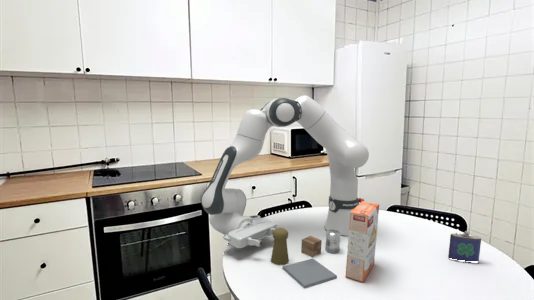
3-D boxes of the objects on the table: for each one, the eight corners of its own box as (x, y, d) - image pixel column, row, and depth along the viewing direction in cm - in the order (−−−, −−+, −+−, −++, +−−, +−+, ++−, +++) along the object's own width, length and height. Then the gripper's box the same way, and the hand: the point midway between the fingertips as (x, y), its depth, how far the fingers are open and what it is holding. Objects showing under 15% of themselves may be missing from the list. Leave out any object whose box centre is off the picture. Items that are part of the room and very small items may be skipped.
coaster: (312, 260, 103) (312, 258, 103) (336, 278, 92) (336, 275, 92) (282, 268, 97) (282, 266, 97) (304, 288, 87) (304, 285, 87)
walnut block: (310, 248, 112) (310, 235, 111) (321, 253, 109) (321, 239, 108) (301, 252, 109) (301, 239, 108) (312, 257, 105) (312, 243, 104)
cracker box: (364, 283, 90) (369, 215, 87) (344, 277, 93) (348, 211, 90) (375, 264, 101) (380, 203, 99) (357, 259, 105) (361, 200, 102)
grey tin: (333, 246, 114) (333, 228, 113) (342, 252, 110) (343, 233, 109) (322, 249, 112) (323, 230, 111) (331, 254, 107) (332, 235, 106)
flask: (477, 260, 105) (480, 231, 104) (480, 265, 102) (483, 234, 101) (447, 257, 108) (450, 228, 106) (449, 260, 105) (452, 231, 103)
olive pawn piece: (287, 266, 99) (288, 233, 98) (269, 263, 100) (270, 231, 99) (289, 257, 105) (290, 226, 103) (272, 255, 106) (273, 225, 105)
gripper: (220, 228, 106) (248, 240, 97) (260, 214, 121) (288, 223, 112) (220, 245, 107) (248, 258, 98) (260, 229, 122) (287, 239, 113)
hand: (269, 239), depth 105 cm, fingers open, 8 cm apart
